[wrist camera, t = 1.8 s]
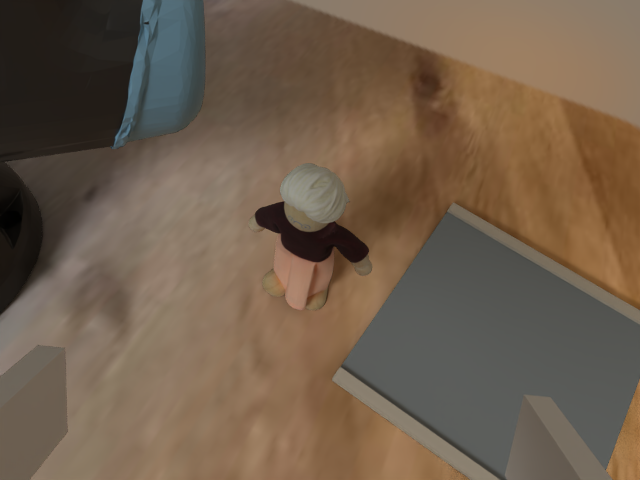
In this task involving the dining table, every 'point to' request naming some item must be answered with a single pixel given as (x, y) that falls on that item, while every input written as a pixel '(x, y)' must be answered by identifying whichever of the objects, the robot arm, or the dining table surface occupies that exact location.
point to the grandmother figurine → (308, 236)
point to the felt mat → (494, 348)
